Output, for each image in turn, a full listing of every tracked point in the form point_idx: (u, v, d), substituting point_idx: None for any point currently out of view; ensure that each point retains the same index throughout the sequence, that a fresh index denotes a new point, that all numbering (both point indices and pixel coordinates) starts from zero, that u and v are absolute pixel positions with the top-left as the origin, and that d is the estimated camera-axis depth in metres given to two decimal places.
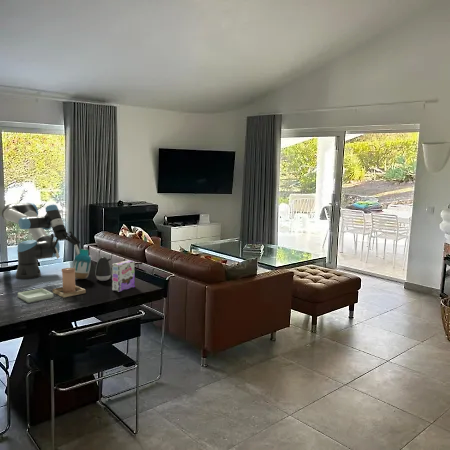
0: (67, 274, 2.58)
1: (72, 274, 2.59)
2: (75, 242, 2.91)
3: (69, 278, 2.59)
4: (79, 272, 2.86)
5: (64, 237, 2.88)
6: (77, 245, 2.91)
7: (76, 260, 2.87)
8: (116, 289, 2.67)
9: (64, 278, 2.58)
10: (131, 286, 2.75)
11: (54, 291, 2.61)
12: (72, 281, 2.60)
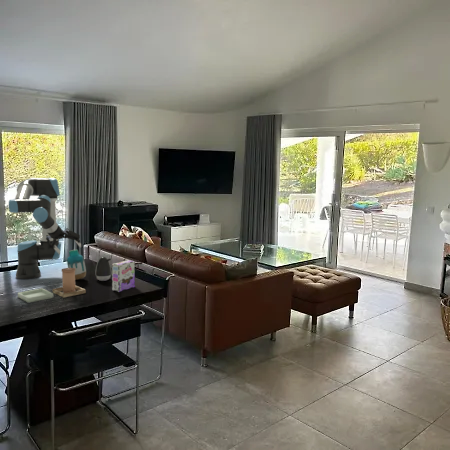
0: (67, 274, 2.58)
1: (72, 274, 2.59)
2: (74, 239, 2.70)
3: (69, 278, 2.59)
4: (77, 273, 2.85)
5: (61, 237, 2.67)
6: None
7: (69, 263, 2.85)
8: (116, 289, 2.67)
9: (64, 278, 2.58)
10: (131, 286, 2.75)
11: (54, 291, 2.61)
12: (72, 281, 2.60)
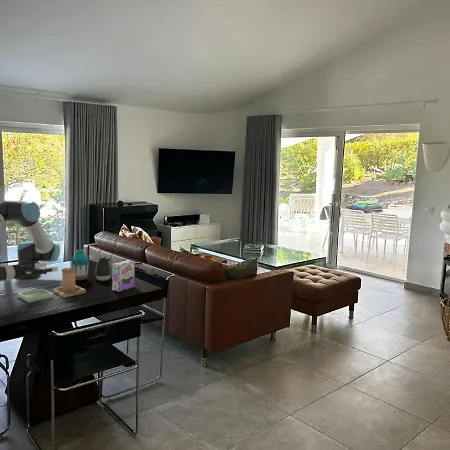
0: (67, 274, 2.58)
1: (72, 274, 2.59)
2: None
3: (69, 278, 2.59)
4: (79, 275, 2.85)
5: None
6: (47, 271, 2.44)
7: (74, 264, 2.83)
8: (116, 289, 2.67)
9: (64, 278, 2.58)
10: (131, 286, 2.75)
11: (54, 291, 2.61)
12: (72, 281, 2.60)
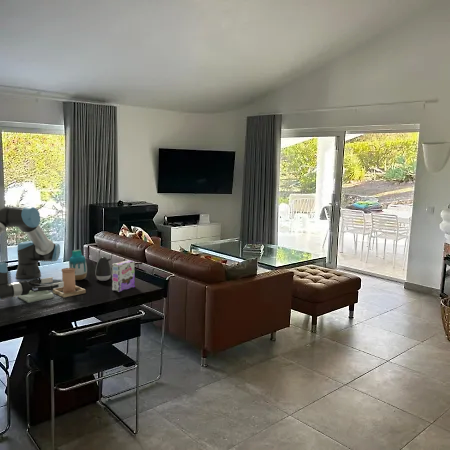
0: (67, 274, 2.58)
1: (72, 274, 2.59)
2: None
3: (69, 278, 2.59)
4: (78, 274, 2.85)
5: None
6: (53, 287, 2.47)
7: (72, 263, 2.84)
8: (116, 289, 2.67)
9: (64, 278, 2.58)
10: (131, 286, 2.75)
11: (54, 291, 2.61)
12: (72, 281, 2.60)
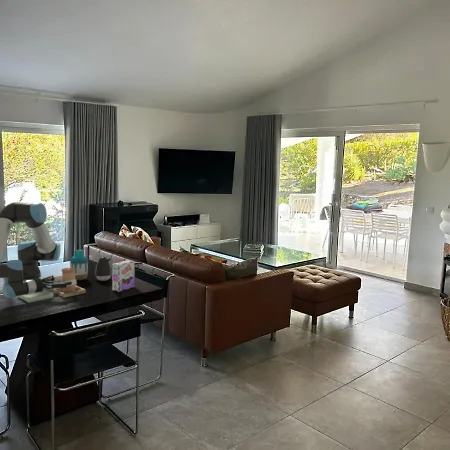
0: (67, 274, 2.58)
1: (72, 274, 2.59)
2: None
3: (69, 278, 2.59)
4: (79, 274, 2.86)
5: None
6: (67, 285, 2.53)
7: (73, 263, 2.85)
8: (116, 289, 2.67)
9: (64, 278, 2.58)
10: (131, 286, 2.75)
11: (54, 291, 2.61)
12: None
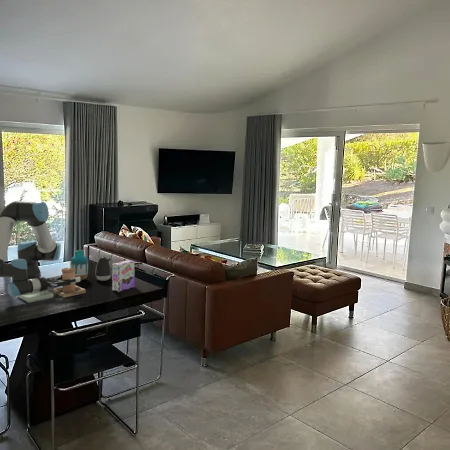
0: (67, 274, 2.58)
1: (72, 274, 2.59)
2: None
3: (69, 278, 2.59)
4: (80, 275, 2.85)
5: None
6: None
7: (74, 263, 2.84)
8: (116, 289, 2.67)
9: (64, 278, 2.58)
10: (131, 286, 2.75)
11: (54, 291, 2.61)
12: None
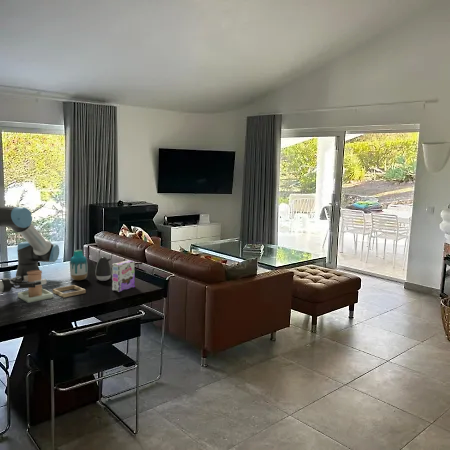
0: (33, 277, 2.48)
1: (38, 276, 2.49)
2: None
3: None
4: (80, 274, 2.86)
5: None
6: (36, 284, 2.44)
7: (74, 263, 2.84)
8: (116, 289, 2.67)
9: (29, 281, 2.48)
10: (131, 286, 2.75)
11: (54, 291, 2.61)
12: None
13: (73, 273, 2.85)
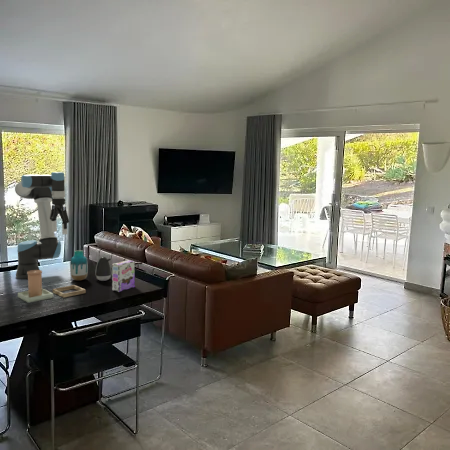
0: (33, 277, 2.48)
1: (38, 276, 2.49)
2: (62, 221, 2.67)
3: (35, 281, 2.48)
4: (80, 275, 2.86)
5: (58, 212, 2.70)
6: (64, 224, 2.67)
7: (74, 264, 2.84)
8: (116, 289, 2.67)
9: (30, 281, 2.48)
10: (131, 286, 2.75)
11: (54, 291, 2.61)
12: (38, 284, 2.50)
13: (73, 273, 2.85)
